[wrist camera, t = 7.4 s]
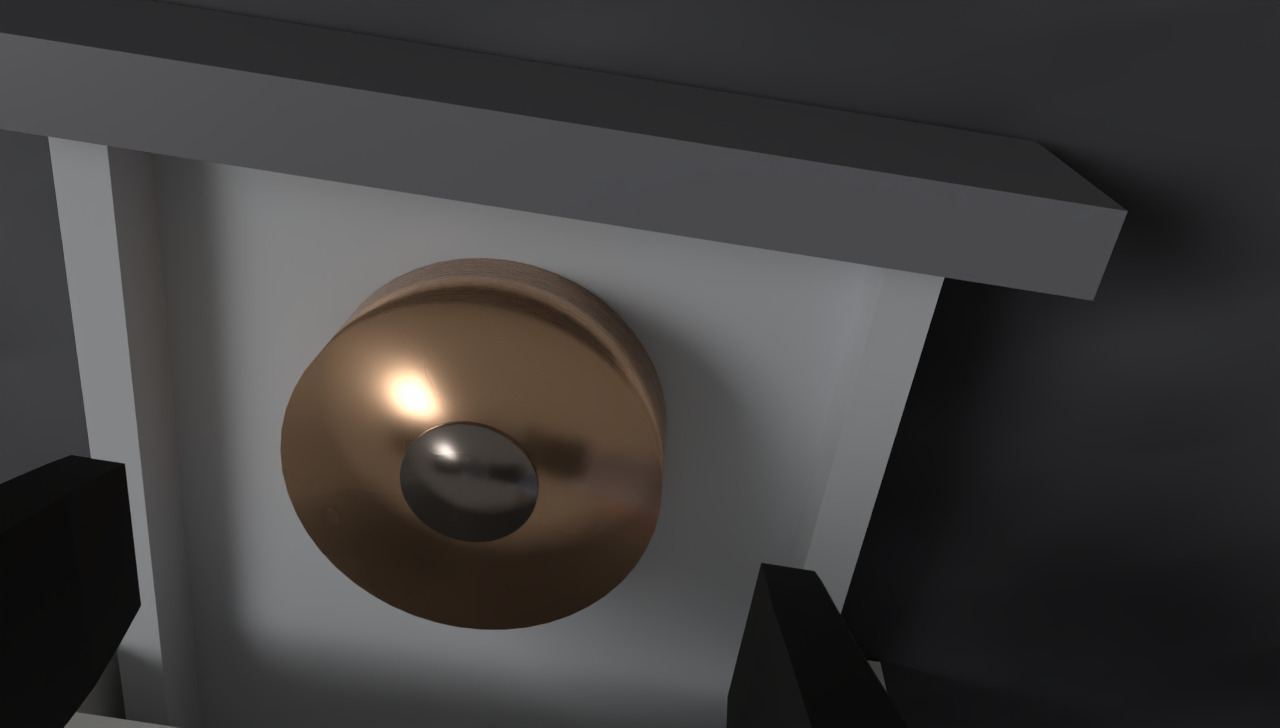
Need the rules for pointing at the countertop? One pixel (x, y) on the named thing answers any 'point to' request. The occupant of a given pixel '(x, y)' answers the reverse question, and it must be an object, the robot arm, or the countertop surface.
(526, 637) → the tray
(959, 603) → the countertop surface
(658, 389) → the disc
